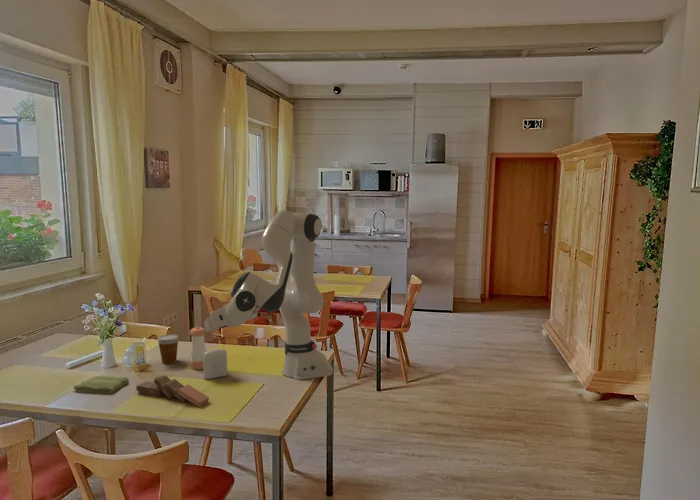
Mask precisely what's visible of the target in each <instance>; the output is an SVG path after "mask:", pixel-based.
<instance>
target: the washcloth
mask: <svg viewBox="0 0 700 500" xmlns="http://www.w3.org/2000/svg"><path fill="white" fill-rule="evenodd" d="M129 382H130V380H129V378H128V377H127V376H98V375H97V376H93V377H90V378H88V379H85V380H83V381H81V382H80V383H79V384H76V385H74V386H73V389H74V390H75V393H81V392H82V393H84V392H85V394H87V393H88V394H109V395H110V394H113V393H115V392H116V391H118V390H119V389H120V388H122V387H123V386H125V385H127V384H128V383H129Z"/></svg>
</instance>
